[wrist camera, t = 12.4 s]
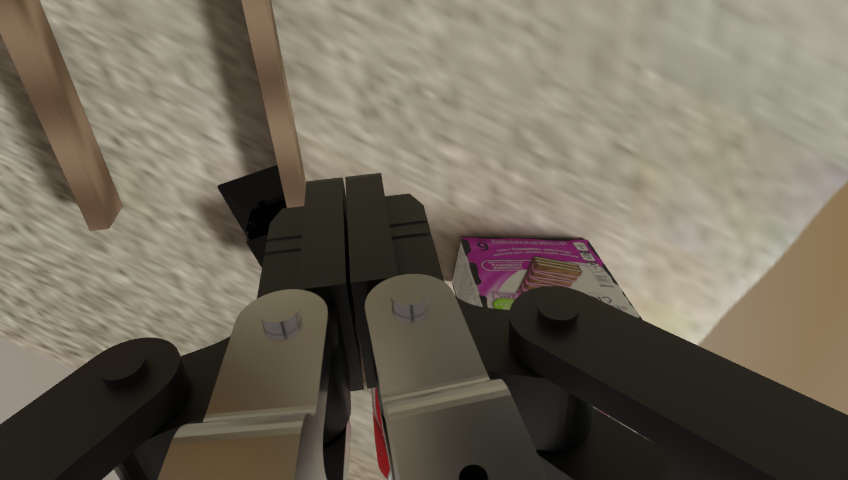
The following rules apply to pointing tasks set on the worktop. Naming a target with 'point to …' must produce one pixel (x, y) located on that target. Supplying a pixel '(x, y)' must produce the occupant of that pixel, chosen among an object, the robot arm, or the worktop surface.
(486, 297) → the candy bar box
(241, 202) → the black block
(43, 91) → the walnut lane
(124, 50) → the worktop surface
